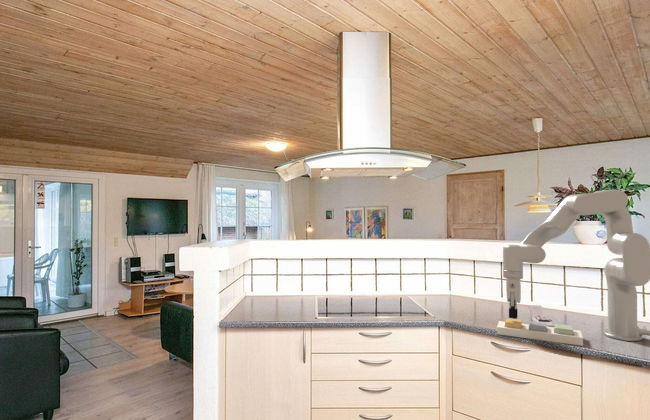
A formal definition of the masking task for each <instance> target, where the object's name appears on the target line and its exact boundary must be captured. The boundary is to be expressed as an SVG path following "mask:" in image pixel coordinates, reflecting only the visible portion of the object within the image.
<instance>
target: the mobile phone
mask: <svg viewBox="0 0 650 420" xmlns="http://www.w3.org/2000/svg"><path fill="white" fill-rule="evenodd" d="M527 306H528V309H529V313H530V315H531V320H532V321H533V322H542V323H546V327H554V328H555V325H554V324H553V322H552V321H551V320H550V319H548V318H547V317H546V316H545V313H544V309H543V306H542V305H539V304H538V305H537V304H532V305H531V304H528V305H527Z"/></svg>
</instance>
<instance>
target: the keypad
mask: <svg viewBox="0 0 650 420" xmlns="http://www.w3.org/2000/svg"><path fill="white" fill-rule="evenodd" d="M529 324H530V323H529ZM529 324H526V323H522V328H521V329H518V328H510V327H505V321H503V320H498V322H497V326H496V335H499V336H507V337H514V338H515V337H516V338H522V339H528V340H529V339H530V340H537V341H543V342H544V341H545V342H551V343H558V344H560V343H561V344H569V345H575V346H584V337H583V333H582V331H581V330H580V329H573V335H566V334H558V333H555V326H554V327H546V330H547V332H542V331H534V330H530V329H529Z"/></svg>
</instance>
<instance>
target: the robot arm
mask: <svg viewBox="0 0 650 420" xmlns="http://www.w3.org/2000/svg"><path fill="white" fill-rule="evenodd" d="M628 197H629V196H628V195H627V194H626V193H625V192H624V191H622V190H619V189H607V190H606V189H603V190H597V191H594V192H590V193H577V194H571V195H568V196H566V197H565V198H564V199H563V200H562V201H561V202H560V203H559V204H558V205H557V207H556V208H555V209H554V210H553V211H552V213H551V214H550V215H549V216H548V217H547V219H545V220H544V222H543V221H542V223H540V224H539V225H538V226H537V227H536V228H535V229H533V230H532V231H531V232H530V233H529V234H527V236H526V237H525V239H524V240H523V241H522V242H521V243H520V244H505V245H504V246H503V248H502V277H503V279H506V280H505V281H506V282H505V283H506V284H505V289H506V290H505V291H506V302H508V319H516V320H518V304H520V303H521V301H522V291H521V289H522V287H521V286H522V285H521V280H523V278H524V263H527V264H529V263H530V264H540V263H542V262H543V261H544V260H545V259H546V256H547V255H546V254H547V253H546V251H545V249H544V248H543V246H544V245H546V244H548V242H549V241H551V240H553V239H556V238H559V237H560V236H562V235H564V234H565V233H566V232H567V231H568V230H569V228H571V226H573V224H574V223H575V222H576V220H578V219H579V217H580V216H590V215H591V216H592V215H600V214H601V215H602V216H603V218H604V220H605V225H606V226H605V227H606V244H607V249H608V250H609V251H610V253H612V254H615V255H618V256H622V257H615V258H612V259H610V260H609V261H608V262H606V264H605V266H604V275H605V279H606V286H607V288H606V289H607V328H606V329H604V330H603V335H604V336H606V337H609V338H612V339H615V340H619V341H628V342H639V341H642V340H643V336H650V330H648V329H645V328H640V327H639V326H638V292H637V287H641V286H645V285H646V284H648V283H649V282H650V242H649V240H648V239H647V238H646V237H645V236H644V235H643V234H640V233H637V232H634V227H633V220H632V216H631V213H630V211H629V210H628V208H627V205H628V203H629V198H628Z"/></svg>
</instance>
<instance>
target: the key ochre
mask: <svg viewBox="0 0 650 420" xmlns="http://www.w3.org/2000/svg"><path fill="white" fill-rule="evenodd" d="M504 322H505V327H510V328H518V329H521V328H522V324H523V320H522V319H513V318H507V317H506V318H505V321H504Z"/></svg>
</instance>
